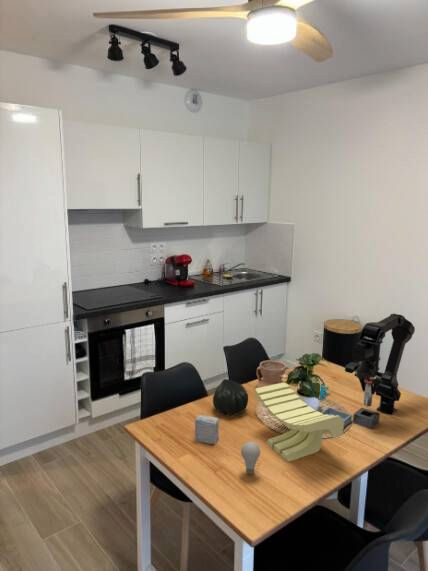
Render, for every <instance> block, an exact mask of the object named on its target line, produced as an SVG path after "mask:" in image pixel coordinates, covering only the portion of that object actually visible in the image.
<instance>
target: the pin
mask: <svg viewBox="0 0 428 571" xmlns="http://www.w3.org/2000/svg"><path fill="white" fill-rule="evenodd" d="M374 379H376V377H370V379H368V380H365V379H364V382H365V391H364V392H363V393H364V394H363V395H364V396H363V405H364V406H366V407H372V404H373V403H372V402H373V394H372V391H373V384H374V382H373V380H374Z"/></svg>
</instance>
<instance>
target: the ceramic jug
mask: <svg viewBox="0 0 428 571" xmlns="http://www.w3.org/2000/svg"><path fill="white" fill-rule="evenodd" d="M286 371H287V365H286V364H285V363H284V362H281V361H277V360H269V359H268V360H263V361H261V362H260V363H259V366H258V367H257V368H256V377H257V380H258V382H257V384H256V388H260V387H265V386H270V385H274V384H279V383H286V382H285V381H283V380H282V379H284V380H286V379H287V378H288V375H286V374H285V373H286Z"/></svg>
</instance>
